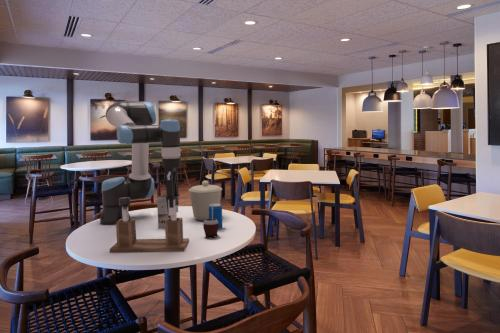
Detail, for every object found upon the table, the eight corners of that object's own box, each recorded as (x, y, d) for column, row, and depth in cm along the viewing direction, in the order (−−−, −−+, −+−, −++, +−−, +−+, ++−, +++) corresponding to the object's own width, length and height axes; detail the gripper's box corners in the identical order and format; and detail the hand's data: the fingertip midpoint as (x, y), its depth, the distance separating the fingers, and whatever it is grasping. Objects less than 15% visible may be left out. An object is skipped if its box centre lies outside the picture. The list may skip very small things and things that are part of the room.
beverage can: (210, 226, 175) (210, 203, 174) (223, 227, 175) (222, 203, 173) (208, 230, 169) (207, 206, 168) (221, 230, 168) (220, 206, 167)
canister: (187, 216, 197) (186, 179, 195) (218, 213, 203) (217, 177, 201) (192, 224, 180) (191, 184, 178) (226, 221, 186) (225, 181, 184)
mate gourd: (208, 240, 155) (207, 206, 153) (200, 236, 161) (198, 203, 159) (222, 236, 159) (222, 204, 157) (214, 232, 165) (213, 201, 164)
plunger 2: (170, 239, 149) (168, 196, 147) (180, 238, 149) (179, 196, 147) (168, 242, 144) (166, 198, 142) (178, 242, 144) (177, 198, 142)
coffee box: (169, 229, 173) (168, 197, 171) (157, 228, 174) (156, 196, 172) (177, 224, 181) (176, 193, 180) (165, 223, 183) (164, 193, 181)
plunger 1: (123, 240, 149) (121, 197, 147) (133, 239, 149) (131, 196, 147) (119, 243, 144) (117, 199, 142) (130, 243, 144) (128, 199, 142)
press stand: (120, 242, 153) (118, 217, 151) (189, 241, 153) (188, 215, 152) (109, 252, 141) (108, 224, 140) (184, 251, 141) (183, 223, 140)
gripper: (176, 159, 134) (178, 218, 137) (184, 155, 152) (186, 208, 154) (156, 159, 134) (159, 219, 137) (167, 156, 151) (169, 208, 154)
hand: (173, 213), depth 145 cm, fingers closed on plunger 2, 4 cm apart
